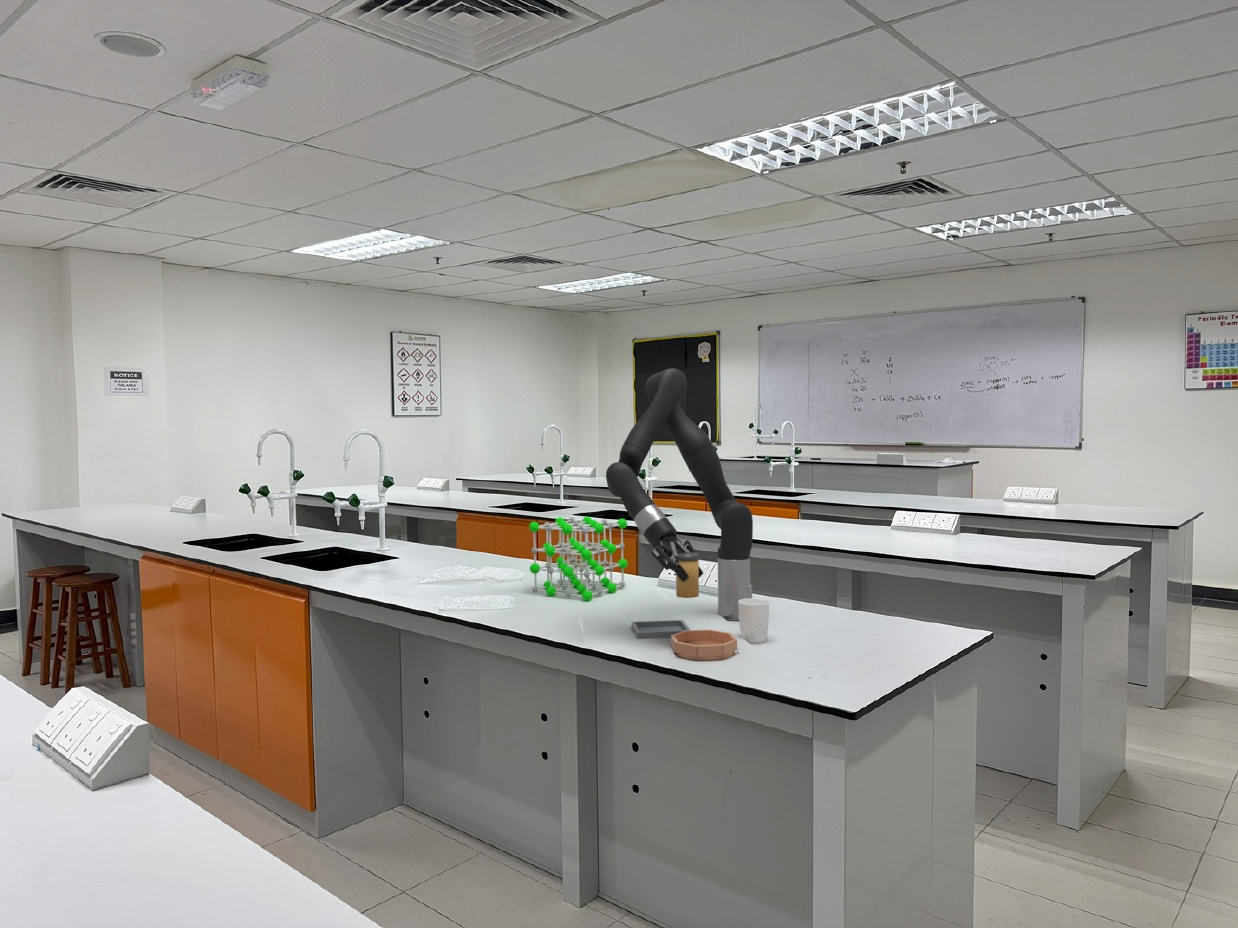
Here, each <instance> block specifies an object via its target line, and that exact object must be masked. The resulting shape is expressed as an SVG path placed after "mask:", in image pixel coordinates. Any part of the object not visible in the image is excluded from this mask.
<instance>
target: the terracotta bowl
mask: <svg viewBox="0 0 1238 928" xmlns="http://www.w3.org/2000/svg"><path fill="white" fill-rule="evenodd" d="M670 647H671V648H672V651H673V652H672V654H673V655H674V656H676V657H679V658H680V659H685V660H689V659H691V661H701V662H711V661H721V660H726V659H729V658H731V657H733V656H734V655H735V654H736V651H737V650H738V639H737V638H736V637H735V635H734V634H732V633H731V632H726V631H721V630H720V631H719V630H714V629H695V630H693V629H690V630H686V631H682V632H680V633H677V634H674V635H671V638H670Z"/></svg>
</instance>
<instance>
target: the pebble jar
mask: <svg viewBox="0 0 1238 928" xmlns="http://www.w3.org/2000/svg"><path fill="white" fill-rule="evenodd" d="M677 560H678V561H679V565H681V566H682V567H683V569H684V570H685V571H686V573H687V574H688V575H689V578H688V579H687V580H686V581H684V582H682V581H681V580H680V579H679V577H678V576H677V575H676V576H675V578H676V579H675V580H676V581H675V588H676V590H675V592H676V593H675V595H676V597H677V598H683V599H694V598H698V597H699V596H700V591H699V588H700V584H699V583H700V582H699V579H700V578H699V567H700V566H699V560H700V554H699V553H698V552H696V553H691V552H688V553H685V552H684V553H679V554H678V555H677Z"/></svg>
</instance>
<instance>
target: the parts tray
mask: <svg viewBox="0 0 1238 928" xmlns="http://www.w3.org/2000/svg"><path fill="white" fill-rule="evenodd" d="M631 629H632V632H634V636H635V637H636V639H637V640H640V639H641V640H642V639H643V640H644V639H645V640H646V639H663V638H664V639H665V638H666V639H667V638H670V639H671V635H674V634H677V633H680V632H682V631H686V630H691V629H690V627H689V626H688V625H687V623H686V622H685V621H684V620H683V619H675V620H673V619H671V620H670V619H669V620H646V621H645V620H644V621H640V620H639V621H631Z"/></svg>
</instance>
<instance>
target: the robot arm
mask: <svg viewBox="0 0 1238 928" xmlns="http://www.w3.org/2000/svg"><path fill="white" fill-rule="evenodd" d="M687 389H688V380H687V377H686V375H685V374H684V373H683V372H682V370H680V369H678V368H673V367H672V368H671V367H669V368H666V369H663V370H661V371H659V372H657V373H655V374H652V375H651V376H649V377H648V378H647V379H646V382H645V389H644V390H645V393H646V396H647V398H648V400H649V402H650V405H649V406H648V408H647V409H646V411H645V412H644V413H643V414H642V415H641V417H639V419H638V420H637V422H636V423H635V424H634V425H633V427H632V428H631V430H630V431H629V433H628V434H627V436H626V437H625V438H626V439H625V441H624V443H623V444H622V446H621V449H620V452H619V459H618V461H617V462H613V463H611V464H610V465H609V466H608V467H607V469H606V472H605V479H606V484H607V485H606V486H607V487H608V488H607V489H608V490H609V492H610V493H611V494H612V495H613V496H614V497H617V498H620V500H621V501H622V503H623V506H624V508H625V510H626V512H627V514H628V515H629V516H630V517H631V519H632V521H634V523H635V525H636V526H637V529H638V530H639V531H640V532H641V534H642V535H643V537H644V538H645V540H646V541H647V542H648V544H649V546H651V547H652V549H653V550H652V551H651V555H652V556H653V557H654V558H655V559H656V561H657V562H658V563H659V564H660V565H661V566H662V567H663V569H664V570H666V571H668V570H670V571H672V572H674V573H675V574H676V575H677V576H678V577H679V579H680V580H681V581H682V582H684V581H686V580H687V579H688V578H689V575H688V574H687V573H686V571H685V570H684V569H683V567H682V566H681V565H679V561H678V560H677V555H678V554H679V553H684V552H685V553H688V552H691V553H697V551H696V550H695V549H694V547H693V545H692V543H691V542H690V540H689V539H687V540H685V541H681V540H680V539H679V538H678V537H677V534H678V533H677V532H678V531H677V529H676V528H675V526H674V525H673V523H671V521H670V520H669V518H668V517H667V516H666V514H665V513H664V512H663V511H662V510H661V509H660V508H659V507H658V506H657V504H656V503H655V502H654V501H653V499H652V498H651V497H650V496H649V494H648V493H647V492H646V490H645V489H644V487H643V486H642V483H641V481H640V480H639V476H640V473H641V469H642V466H643V464H644V461H645V460H646V458H647V456H648V455H649V452H650V450H651V448H652V446H653V444H654V442H655V440H656V438H657V436H658V434H659V433H660V431H661V429H662V427H663V426H664V425H665V427H666V428H667V430H668V432H669V434H670V436H671V438H672V439H673V442H675V444H676V446H677V449H678V451H679V453H680V455H681V457H682V459H683V461H684V463H685V464H686V466H687V468H688V470H689V472H690V473H691V475H692V477H693V478H694V479H693V480H695V482H696V484H697V485H698V487H699V488H700V490H701V492H702V493H703V495H704V497H705V500H706V502H707V504H708V506H709V509H710V511H711V512H710V513H711V514H712V516H713V519H714V523H715V524H716V526H717V527H718V528H719V529H720V544H719V547H718V548H717V614H718V616H720V617H721V618H722V617H723V619H724V620H727V621H739V608H738V601H739V600H741V599H748V598H753V585H752V584H751V550H752V548H753V537H754V536H753V533H754V532H753V531H754V523H753V521H754V519H753V514H752V511H751V510H750V508H749V507H748V506H747V505H745V504H744V503H740V502H739V501H737V499H736V498H735V496H734V494H733V493H732V491H731V490H730V488H729V486H728V484H727V482H726V479H725V476H724V472H723V467H722V463H721V459H720V457H719V454H718V452H717V450H716V448H715V446H714V444H713V442H712V440H711V439H710V437H709V436H708V434H707V433H706V432H705V431H704V430H703V429H702V428H701V427H699V425H697V424H696V423H695V422H694V421H693V420H691V418H689V417H688V415H687V414H686V413H685V412H684V411H683V409H682V407H681V405H680V401H681V400H682V398H683V397H684V395H685V394H686V392H687ZM702 575H704V571H703V569H702V568H701V567H700V566H699V579H700V578H701V577H702Z"/></svg>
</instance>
